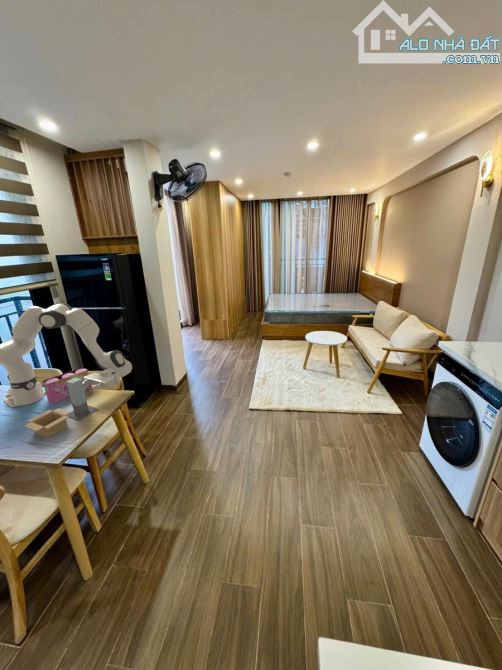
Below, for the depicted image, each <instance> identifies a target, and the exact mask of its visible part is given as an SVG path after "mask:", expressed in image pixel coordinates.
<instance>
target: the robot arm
mask: <svg viewBox="0 0 502 670" xmlns="http://www.w3.org/2000/svg"><path fill="white" fill-rule="evenodd" d="M66 325H69V326H70V327H71V328H72V329H73V330H74V331H75V332H76V333H77V335H79V337H80V338H81V340H82V343H83V345H84V346H85V347H86V349H87V350H88V351H89V353H91V356H92V357H93V359H94V360H95V363H96V365H97V366H98V368H100V369H102V371H101V373H98V372H93V373H90V374H88V375H87V376H85V377H84V382H82V383H83V386H85V384H88V383H89V384H91V389H92V390H96V389H99V388H101V389H102V388H104V389H109V388H112V387H114V386H116V385H118V384H120V379H121V378H123V377H125V376H127V375H128V374H130V373H131V372H132V370H133V364H132V363H131V362H130V361H129V360H128V359H126V358H125V356H124V354H123V353H122V352H121V351H120V350H118V349H116V350H112V351H108V352H106V351H104V350H103V348H101V347H100V345H99V344H98V343H97V337H98V336H99V333H100V328H99V326H98V324H97V323H96V322H95V320H94V319H93V318H92V317H91V316H90V315H89V314H87V313H86V312H85V310H83V309H81V308H72V307H71V305H69V304H68V303H65V302H58V303H55V304H51V305H49V306H47V308H43V307H40V306H36V305H32V306H30V307H28V308H26V310H25V311H24V312H23V313H22V314H21V315H20V316H19V318H18V319H17V321H16V322H15V324H14V326H13V327H12V329H11V333H12V337H11V338H10V339H9V340H7V341H4V342H2V343H0V366H2V367H3V368H4V369H5V370H6V372H7V374H8V377H9V386H10V387H9V389H7V390H6V394H5V398H3V402H5V403H6V404H7V405H8V406H9V407H10V408H15V407H23V406H27V405H30V404H34V403H35V402H38V401H40V400H42V399H43V398H44V397H45V395H46V392H45V390H44V389H43V388H44V387H43V386H42V384H41V382H39V381H38V378H37V376H36V375H35V372H34V369H33V365H32V364H31V363H29V362H26V361H25V360H24V358H23V356H25V355H28V354H29V353H30V352H31V351H33V350H34V348H35V347H36V341H35V340H36V337H37V336H38V334H39V333H40V331H41V330H42V328H43V327H44V328H46V329H51V330H52V329H56V328H57V329H58V328H61V327H65V326H66Z"/></svg>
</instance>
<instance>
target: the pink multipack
mask: <svg viewBox="0 0 502 670" xmlns="http://www.w3.org/2000/svg"><path fill="white" fill-rule="evenodd" d="M88 370H89V369H87V368H85V367H80V368H77V369H73V370H69V371H67V372H65V373H62V374H59V375H56V376H52V377H50V378H49V377H48V378H46V379H44V380H42V381H41V382H42V385H43V388H44V389H43V390H44V391H45V392H46V393H45V395H46V398H47V401H48V402H50V403H51V404H52V405H54V404H55V403H59V402H61V401H64V400H65V399H68V398H70V394H69V390H68V386H67V382H66V381H69V380H71V379H73V378H79V379H82V382H84V377H85V376H87V375H89V371H88ZM83 387H84V392H86V391H88V390H91V389H92V384H89V383H88V384H85V386H83Z"/></svg>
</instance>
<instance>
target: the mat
mask: <svg viewBox="0 0 502 670" xmlns="http://www.w3.org/2000/svg"><path fill="white" fill-rule="evenodd" d="M87 405H88V404H87ZM88 409H89V411H87V412H86V413H84V414H82V415H77V414H75V413H74V410H73V409H72V410H71V411H70V412H71V413H70V414H68V415H66V416H68V417H69V418H68V419H72V420H74V421H77V422H79V421H81V420H84V418H86V417H88V416H89V415H91V414H93V413H95V412H97V411H99V409H100V408H98V407H94V406H92V405H88Z"/></svg>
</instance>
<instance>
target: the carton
mask: <svg viewBox="0 0 502 670" xmlns="http://www.w3.org/2000/svg"><path fill="white" fill-rule="evenodd" d="M70 413H71V411H68V410H66V409H62V408H58V407H57V408H56V409H53V410H51V409H48V410H46V411H43V412H42V413H39V414H38V415H36V416H34V417H32V418H30V419H27V422H29V423H27V424H24V425H23V426H24V427H25V428H28V429H29V430H31V431H33V432H34V434H36V435H37V436H38V435H39V436H40V437H42V438H45V439H48V438H50V437H52V436H54V435H55V434H57V433H58V432H59V433H60V431H62V430H64V429H66V428H68V427H69V426H68V421H67V419H70V418H69V417H68V416H66V415H68V414H70Z"/></svg>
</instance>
